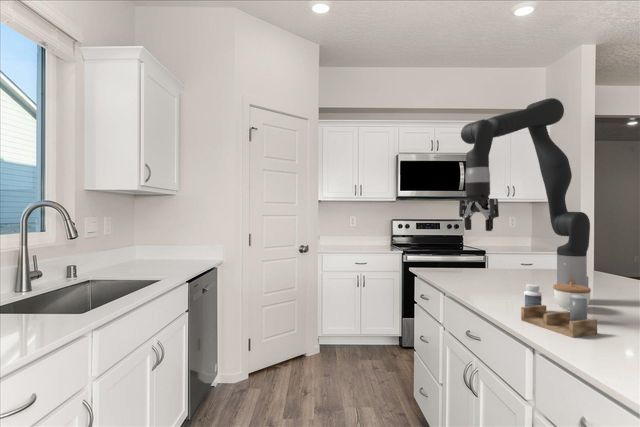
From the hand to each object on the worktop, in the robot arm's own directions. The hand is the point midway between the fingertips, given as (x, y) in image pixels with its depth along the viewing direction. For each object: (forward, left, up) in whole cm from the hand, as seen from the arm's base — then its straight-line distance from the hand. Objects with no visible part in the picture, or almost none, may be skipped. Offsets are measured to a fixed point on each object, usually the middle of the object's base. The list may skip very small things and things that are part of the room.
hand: (478, 230), depth 127 cm
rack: (-11, +20, -27) cm, 36 cm away
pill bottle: (-18, +5, -28) cm, 33 cm away
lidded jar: (-33, +7, -28) cm, 43 cm away
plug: (-22, +18, -27) cm, 39 cm away
